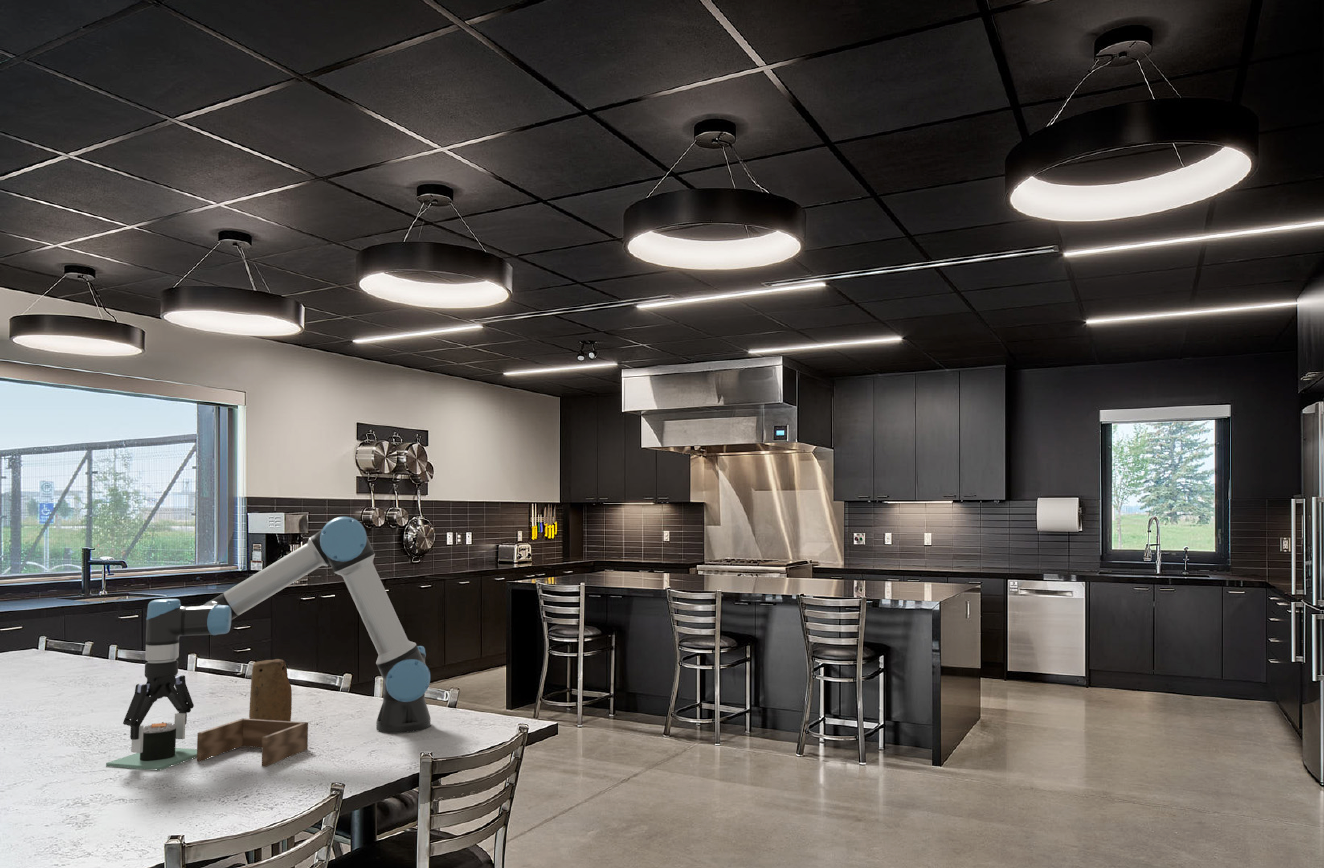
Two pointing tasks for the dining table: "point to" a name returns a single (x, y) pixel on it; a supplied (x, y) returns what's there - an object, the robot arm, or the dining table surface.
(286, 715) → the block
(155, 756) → the sushi
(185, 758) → the mat
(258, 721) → the frame
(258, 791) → the dining table surface
